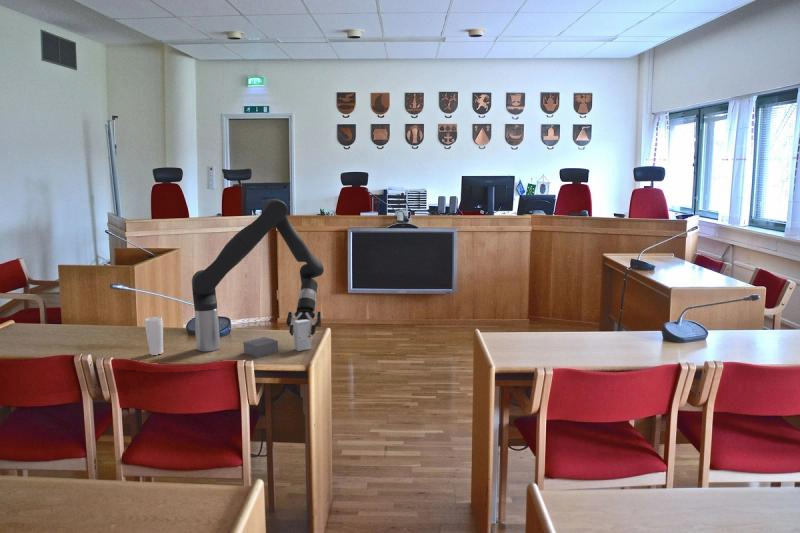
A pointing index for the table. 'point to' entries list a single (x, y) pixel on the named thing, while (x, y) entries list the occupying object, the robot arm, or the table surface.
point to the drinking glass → (154, 334)
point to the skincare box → (302, 335)
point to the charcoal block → (260, 346)
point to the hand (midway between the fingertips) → (301, 334)
